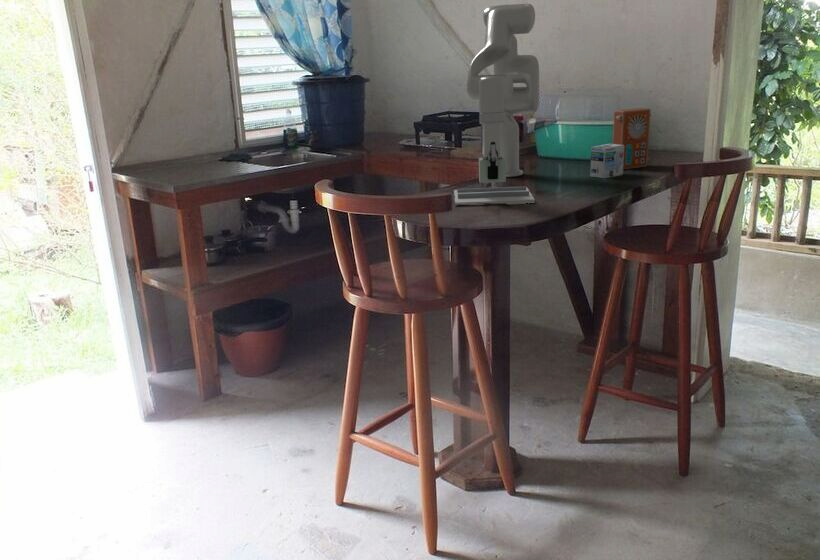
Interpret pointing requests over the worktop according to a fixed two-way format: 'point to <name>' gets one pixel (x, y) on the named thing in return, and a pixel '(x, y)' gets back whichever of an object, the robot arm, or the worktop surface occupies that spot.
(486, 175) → the block
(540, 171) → the worktop surface
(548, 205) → the worktop surface
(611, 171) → the light bulb box
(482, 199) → the rail plate
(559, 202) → the worktop surface
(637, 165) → the control panel
